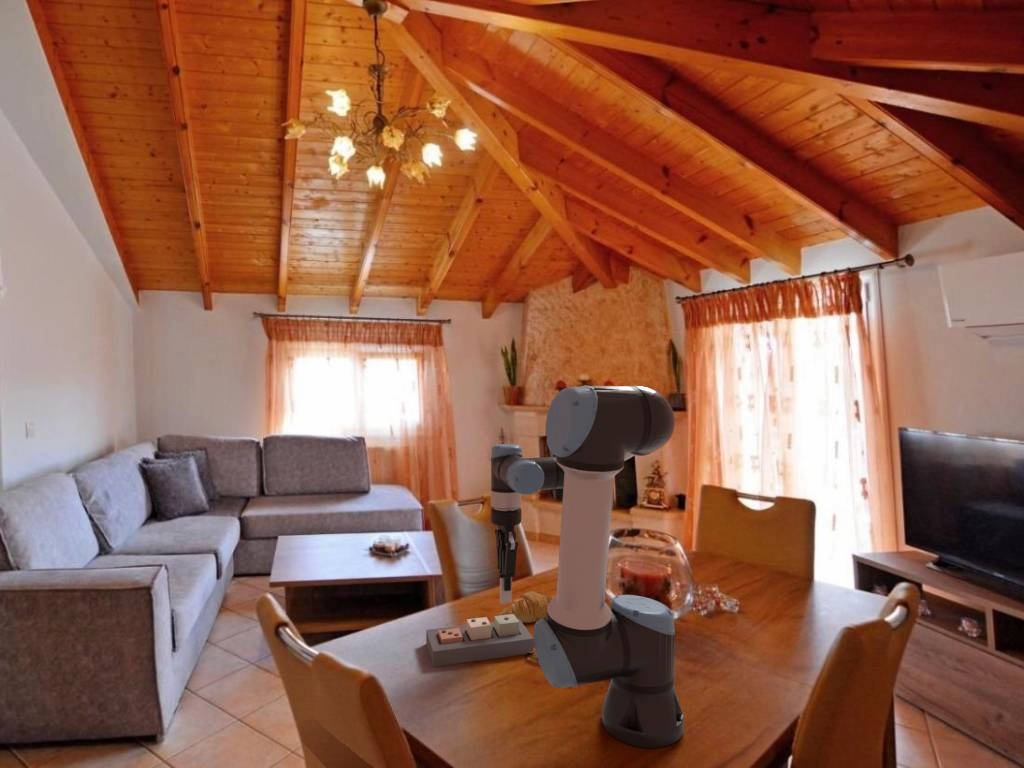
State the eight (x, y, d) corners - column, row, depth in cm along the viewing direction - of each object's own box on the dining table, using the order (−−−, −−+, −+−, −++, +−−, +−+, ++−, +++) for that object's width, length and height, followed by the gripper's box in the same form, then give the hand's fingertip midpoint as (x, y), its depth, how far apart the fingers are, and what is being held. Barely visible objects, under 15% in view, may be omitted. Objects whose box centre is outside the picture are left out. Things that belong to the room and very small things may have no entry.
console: (533, 653, 140) (533, 638, 140) (433, 666, 133) (433, 651, 133) (519, 632, 151) (519, 618, 151) (426, 643, 145) (426, 629, 144)
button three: (462, 649, 138) (462, 635, 138) (441, 651, 137) (441, 638, 137) (458, 640, 143) (458, 627, 143) (438, 642, 142) (438, 629, 142)
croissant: (503, 641, 154) (510, 619, 151) (486, 612, 161) (492, 591, 158) (567, 621, 165) (574, 601, 162) (548, 595, 173) (555, 575, 169)
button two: (491, 637, 140) (491, 624, 140) (470, 640, 139) (470, 626, 139) (486, 629, 145) (486, 616, 145) (466, 631, 144) (466, 618, 144)
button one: (519, 634, 142) (519, 621, 142) (499, 636, 141) (499, 623, 141) (513, 625, 147) (513, 613, 147) (494, 628, 146) (494, 615, 146)
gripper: (528, 512, 138) (528, 610, 139) (513, 500, 151) (513, 590, 152) (498, 514, 136) (497, 614, 137) (485, 502, 149) (485, 593, 150)
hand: (505, 601), depth 144 cm, fingers closed
